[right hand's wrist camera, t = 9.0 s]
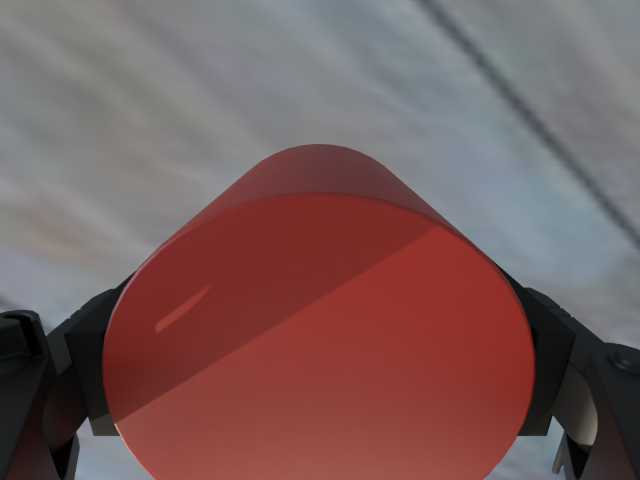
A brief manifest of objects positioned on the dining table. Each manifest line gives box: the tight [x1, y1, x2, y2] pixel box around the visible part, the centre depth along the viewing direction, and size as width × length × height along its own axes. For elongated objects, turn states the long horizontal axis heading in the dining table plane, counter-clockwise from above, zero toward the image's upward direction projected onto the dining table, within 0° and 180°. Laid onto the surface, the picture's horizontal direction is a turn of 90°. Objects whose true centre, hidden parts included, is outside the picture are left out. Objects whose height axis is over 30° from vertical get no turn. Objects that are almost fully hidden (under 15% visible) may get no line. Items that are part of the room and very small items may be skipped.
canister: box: [102, 144, 535, 480], centre depth 11 cm, size 9×9×9 cm
